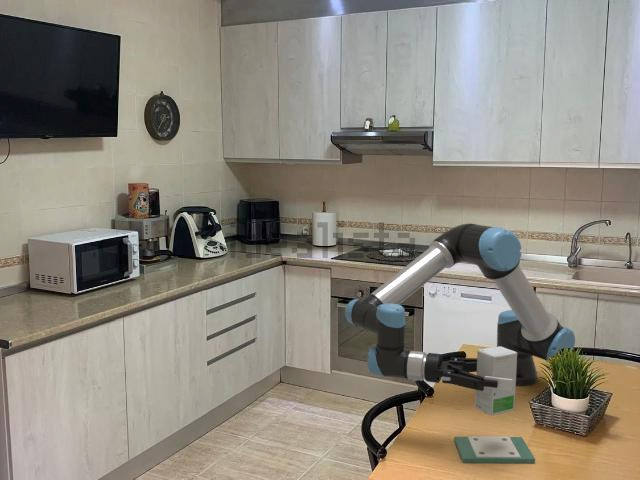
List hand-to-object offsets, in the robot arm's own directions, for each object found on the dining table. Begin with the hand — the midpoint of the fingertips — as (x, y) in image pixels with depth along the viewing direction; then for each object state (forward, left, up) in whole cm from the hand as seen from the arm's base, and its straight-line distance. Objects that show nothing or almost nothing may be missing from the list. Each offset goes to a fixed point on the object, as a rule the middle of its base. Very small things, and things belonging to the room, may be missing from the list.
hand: (513, 377), depth 165 cm
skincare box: (-4, -2, -9) cm, 10 cm away
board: (-4, -2, -21) cm, 21 cm away
